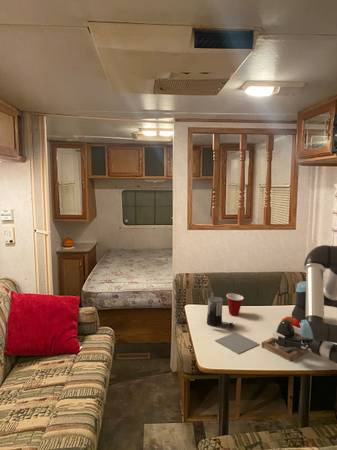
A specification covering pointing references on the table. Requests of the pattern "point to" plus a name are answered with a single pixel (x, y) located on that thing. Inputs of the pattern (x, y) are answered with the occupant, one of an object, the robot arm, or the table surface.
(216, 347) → the table surface
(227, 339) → the rubber mat
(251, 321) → the table surface
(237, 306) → the plastic cup
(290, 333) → the pump dispenser
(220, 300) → the milk frother
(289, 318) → the tomato
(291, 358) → the walnut collar
